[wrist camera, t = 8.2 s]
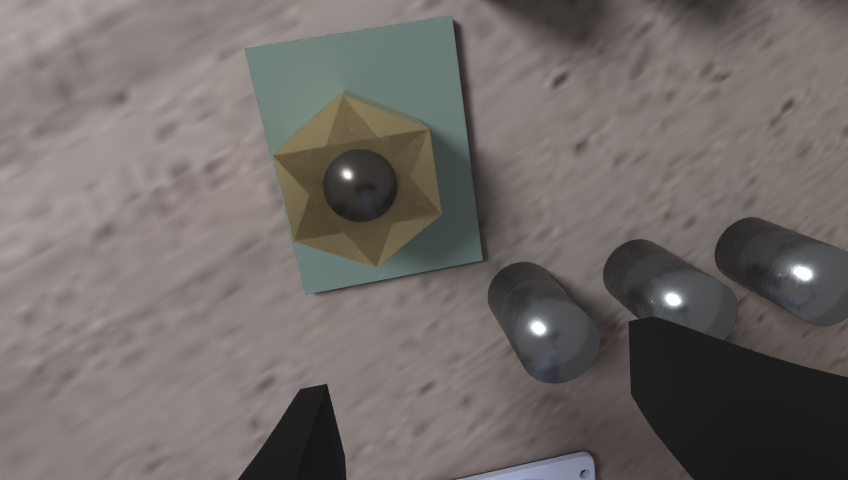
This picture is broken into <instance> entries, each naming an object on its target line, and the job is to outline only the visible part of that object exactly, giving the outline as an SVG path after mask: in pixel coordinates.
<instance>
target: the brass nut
mask: <svg viewBox="0 0 848 480" xmlns="http://www.w3.org/2000/svg"><path fill="white" fill-rule="evenodd" d="M273 159H274V163H275V167H276V171H277V175H278V180H279V184H280V188H281V192H282V196H283V200H284V204H285V208H286V212H287V216H288V220H289V224H290V228H291V232H292V236H293V241H294V242H296V243H300V244H303V245H306V246H309V247H312V248H316V249H319V250H322V251H325V252H328V253H332V254H335V255H338V256H341V257H344V258H348V259H351V260H354V261H357V262H360V263H364V264H367V265H370V266H373V267H378V266H379V265H380V264H381V263H382V262H384V261H385V260H386V259H387V258H389V257H390V256H391V255H392V254H394V253H395V252H396V251H397V250H398V249H400V248H401V247H402V246H403V245H405V244H406V243H407V242H408V241H410V240H411V239H412V238H413V237H415V236H416V235H417V234H418V233H419V232H421V231H422V230H423V229H424V228H426V227H427V226H428V225H429V224H431V223H432V222H433V221H434V220H435V219H437V218H438V217H439V216H440V215H442V212H441V205H440V198H439V192H438V185H437V178H436V171H435V164H434V158H433V151H432V144H431V137H430V130H429V128H428V127H427V126H425V125H424V124H423V123H422V122H421V121H419V120H418V119H417V118H416V117H413V116H411V115H408V114H405V113H403V112H400V111H398V110H395V109H393V108H390V107H387V106H385V105H382V104H380V103H377V102H374V101H372V100H369V99H367V98H364V97H362V96H359V95H356V94H354V93H351V92H349V91H346V90H343V91H342V92H341V93H339V94H338V95H337V96H336V97H335V98H334V99H332V100H331V101H330V102H329V103H328V104H327V105H325V106H324V107H323V108H322V109H321V110H320V111H319V112H317V113H316V114H315V115H314V116H313V117H312V118H310V119H309V120H308V121H307V122H306V123H305V124H303V125H302V126H301V127H300V128H299V129H298V130H296V131H295V132H294V133H293V134H292V135H291V136H289V137H288V138H287V139H286V140H285V141H284V143H283V144H282V145H281V146H280V147H279V149H278V150H277V151H276V152H275V153H274V155H273Z"/></svg>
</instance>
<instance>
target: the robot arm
mask: <svg viewBox="0 0 848 480" xmlns="http://www.w3.org/2000/svg"><path fill="white" fill-rule="evenodd" d="M629 346H630V378H631V395H632V397H633V398H634V400H635V402H636V403H637V405H638V407H639V408H640V410H641V412H642V413H643V415H644V417H645V418H646V420H647V421H648V423H649V424H650V426H651V427H652V429H653V430H654V432H655V433H656V434H657V435H658V437H659V438H660V439H661V440H662V442H663V443H664V444H665V445H666V447H667V448H668V449H669V450H670V451H671V453H672V454H673V455H674V456H675V458H676V459H677V460H678V461H679V462H680V464H681V465H682V466H683V467H684V468H685V470H686V471H687V472H688V473H689V474H690V476H691V477H692V478H693V479H694V480H848V377H844V376H840V375H836V374H831V373H827V372H823V371H819V370H815V369H811V368H807V367H804V366H800V365H797V364H793V363H790V362H786V361H783V360H780V359H777V358H774V357H770V356H767V355H764V354H761V353H758V352H755V351H752V350H749V349H746V348H743V347H740V346H737V345H734V344H732V343H729V342H726V341H723V340H721V339H718V338H715V337H712V336H710V335H707V334H704V333H702V332H699V331H696V330H693V329H691V328H688V327H685V326H682V325H680V324H677V323H674V322H671V321H668V320H665V319H661V318H658V317H654V316H652V317H647V318H643V319H638V320H633V321H629ZM583 470H585V471H584V472H582V473H580V472H581V471H583ZM238 480H346V466H345V455H344V451H343V447H342V443H341V439H340V435H339V431H338V426H337V422H336V418H335V414H334V410H333V406H332V402H331V398H330V394H329V390H328V386H327V384H324V385H319V386H314V387H309V388H304V389H300V390H299V392H298V393H297V395H296V396H295V398H294V399H293V401H292V402H291V404H290V405H289V407H288V409H287V410H286V412H285V413H284V415H283V416H282V418H281V420H280V421H279V423H278V424H277V426H276V427H275V429H274V430H273V432H272V433H271V435H270V436H269V438H268V439H267V441H266V442H265V443H264V445H263V446H262V448H261V449H260V451H259V452H258V454H257V455H256V456H255V458H254V459H253V460H252V462H251V463H250V464H249V466H248V467H247V468H246V469H245V471H244V472H243V473H242V475H241V476H240V477H239V479H238ZM457 480H595V466H594V460H593V458H592V456H591V455H590V454H589V453H588V452H578V453H573V454H569V455H564V456H560V457H555V458H551V459H546V460H542V461H537V462H533V463H529V464H524V465H520V466H515V467H511V468H506V469H502V470H497V471H493V472H488V473H484V474H479V475H475V476H471V477H466V478H462V479H457Z"/></svg>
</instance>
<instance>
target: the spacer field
mask: <svg viewBox="0 0 848 480" xmlns="http://www.w3.org/2000/svg"><path fill="white" fill-rule="evenodd" d="M715 262H716V265H717V267H718V269H719V270H720V272H721V273H722V274H724V275H725V276H727V277H728V278H730V279H732V280H734V281H736V282H737V283H739V284H741V285H743V286H744V287H746V288H748V289H750V290H751V291H753V292H755V293H757V294H759V295H760V296H762V297H764V298H766V299H767V300H769V301H771V302H773V303H774V304H776V305H778V306H780V307H782V308H783V309H785V310H787V311H789V312H790V313H792V314H794V315H796V316H798V317H799V318H801V319H803V320H805V321H806V322H808V323H810V324H812V325H816V326H830V325H834V324H837V323H839V322H841V321H843V320H845V319H846V318H848V251H845V250H842V249H840V248H837V247H834V246H832V245H829V244H827V243H824V242H821V241H819V240H816V239H813V238H811V237H808V236H805V235H803V234H800V233H797V232H795V231H792V230H789V229H787V228H784V227H781V226H779V225H776V224H774V223H771V222H768V221H766V220H763V219H760V218H755V217H751V218H745V219H742V220H739V221H737V222H735V223H734V224H732V225H731V226H730V227H728V228H727V229H726V230H725V231H724V233H723V234H722V235H721V237H720V239H719V241H718V243H717V246H716V249H715ZM603 279H604V284H605V287H606V289H607V290H608V292H609V293H610V294H611V295H612V296H613V297H614V298H616V299H617V300H618V301H619V302H620V303H621V304H622V305H624V306H625V307H626V308H627V309H628V310H629V311H630V312H631V313H633V314H634V315H635V316H636V317H637V318H638V319H643V318H647V317H652V316H654V317H658V318H661V319H665V320H668V321H671V322H674V323H677V324H680V325H682V326H685V327H688V328H691V329H693V330H696V331H699V332H702V333H704V334H707V335H710V336H712V337H715V338H718V339H721V340H724V339H725V338H726V337H727V336H728V335H729V333H730V332H731V330H732V329H733V327H734V325H735V322H736V319H737V315H738V303H737V299H736V296H735V295H734V293H733V292H732V290H731V289H730V288H729V287H728V286H726V285H725V284H723V283H721V282H720V281H718V280H716V279H714V278H713V277H711V276H709V275H708V274H706V273H704V272H703V271H701V270H699V269H697V268H696V267H694V266H692V265H691V264H689V263H687V262H686V261H684V260H682V259H680V258H679V257H677V256H675V255H674V254H672V253H670V252H669V251H667V250H665V249H664V248H662V247H660V246H658V245H657V244H655V243H653V242H651V241H648V240H643V239H638V240H632V241H629V242H626V243H624V244H622V245H621V246H619V247H618V248H617V249H616V250H615V251H614V252H613V253H612V254H611V255H610V257H609V258H608V260H607V262H606V264H605V267H604V272H603ZM488 303H489V306H490V309H491V310H492V312H493V314H494V316H495V317H496V319H497V321H498V323H499V324H500V326H501V328H502V330H503V331H504V333H505V335H506V337H507V338H508V340H509V342H510V344H511V345H512V347H513V349H514V350H515V352H516V354H517V356H518V357H519V359H520V361H521V363H522V364H523V366H524V368H525V369H526V371H527V372H528V373H529V374H530V375H531V376H532V377H534V378H535V379H537V380H539V381H542V382H546V383H563V382H567V381H570V380H572V379H575V378H576V377H578V376H580V375H581V374H583V373H584V372H585V371H586V370H587V369H588V368H589V367H590V366H591V365H592V363H593V362H594V360H595V359H596V357H597V354H598V351H599V348H600V334H599V330H598V328H597V326H596V324H595V323H594V322H593V320H592V319H591V318H590V317H589V316H588V315H587V314H586V313H585V312H584V311H583V310H582V309H581V308H580V307H579V306H578V304H577V303H576V302H575V301H574V300H573V299H572V298H571V297H570V296H569V295H568V294H567V293H566V292H565V291H564V290H563V289H562V288H561V287H560V285H559V284H558V283H557V282H556V281H555V280H554V279H553V278H552V277H551V276H550V275H549V274H548V273H547V272H546V271H545V270H544V269H543V268H542V267H540V266H539V265H536V264H533V263H529V262H519V263H515V264H512V265H509V266H507V267H505V268H504V269H502V270H501V271H500V272H499V273H498V274H497V275H496V276H495V277H494V279H493V280H492V282H491V284H490V287H489V290H488Z"/></svg>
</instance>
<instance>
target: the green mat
mask: <svg viewBox="0 0 848 480" xmlns="http://www.w3.org/2000/svg"><path fill="white" fill-rule="evenodd" d="M245 53H246V57H247V61H248V65H249V69H250V73H251V77H252V81H253V85H254V89H255V93H256V97H257V101H258V105H259V109H260V113H261V118H262V122H263V126H264V130H265V134H266V138H267V142H268V146H269V150H270V154H271V158H272V162H273V166H274V170H275V174H276V178H277V182H278V186H279V190H280V194H281V198H282V202H283V206H284V210H285V214H286V218H287V222H288V226H289V230H290V234H291V238H292V242H293V246H294V250H295V254H296V258H297V262H298V266H299V270H300V275H301V279H302V283H303V287H304V291H305V295H307V294H312V293H317V292H322V291H327V290H333V289H338V288H343V287H348V286H353V285H358V284H364V283H369V282H374V281H379V280H384V279H389V278H394V277H400V276H405V275H410V274H415V273H420V272H425V271H431V270H436V269H441V268H446V267H451V266H456V265H462V264H467V263H472V262H477V261H482V260H483V257H482V250H481V242H480V234H479V226H478V218H477V210H476V202H475V194H474V186H473V178H472V170H471V162H470V154H469V146H468V139H467V131H466V123H465V115H464V107H463V99H462V91H461V83H460V75H459V67H458V59H457V51H456V43H455V35H454V28H453V20H452V16H447V17H441V18H435V19H428V20H422V21H416V22H409V23H403V24H397V25H391V26H384V27H378V28H372V29H365V30H359V31H353V32H346V33H340V34H334V35H327V36H321V37H315V38H308V39H302V40H296V41H289V42H283V43H277V44H271V45H264V46H258V47H252V48H245ZM343 90H346V91H349V92H351V93H354V94H356V95H359V96H362V97H364V98H367V99H369V100H372V101H374V102H377V103H380V104H382V105H385V106H387V107H390V108H393V109H395V110H398V111H400V112H403V113H405V114H408V115H411V116H413V117H416V118H417V119H418V120H419V121H421V122H422V123H423V124H424V125H425V126H427V127H428V128H429V130H430V137H431V144H432V151H433V158H434V164H435V171H436V178H437V185H438V192H439V198H440V205H441V212H442V215H440V216H439V217H438V218H437V219H435V220H434V221H433V222H432V223H431V224H429V225H428V226H427V227H426V228H424V229H423V230H422V231H421V232H419V233H418V234H417V235H416V236H415V237H413V238H412V239H411V240H410V241H408V242H407V243H406V244H405V245H403V246H402V247H401V248H400V249H398V250H397V251H396V252H395V253H394V254H392V255H391V256H390V257H389V258H387V259H386V260H385V261H384V262H382V263H381V264H380V265H379V266H378V267H373V266H370V265H367V264H364V263H360V262H357V261H354V260H351V259H348V258H344V257H341V256H338V255H335V254H332V253H328V252H325V251H322V250H319V249H316V248H312V247H309V246H306V245H303V244H300V243H296V242H294V241H293V236H292V232H291V228H290V224H289V220H288V216H287V212H286V208H285V204H284V200H283V196H282V192H281V188H280V184H279V180H278V175H277V171H276V167H275V163H274V159H273V155H274V153H275V152H276V151H277V150H278V149H279V147H280V146H281V145H282V144H283V143H284V141H285V140H286V139H287V138H288V137H289V136H291V135H292V134H293V133H294V132H295V131H296V130H298V129H299V128H300V127H301V126H302V125H303V124H305V123H306V122H307V121H308V120H309V119H310V118H312V117H313V116H314V115H315V114H316V113H317V112H319V111H320V110H321V109H322V108H323V107H324V106H325V105H327V104H328V103H329V102H330V101H331V100H332V99H334V98H335V97H336V96H337V95H338V94H339V93H341V92H342V91H343Z"/></svg>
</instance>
